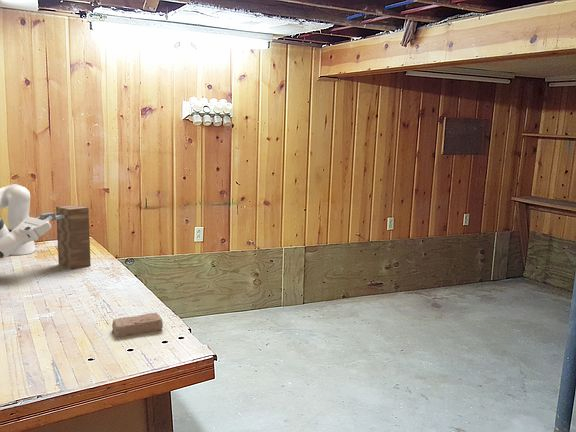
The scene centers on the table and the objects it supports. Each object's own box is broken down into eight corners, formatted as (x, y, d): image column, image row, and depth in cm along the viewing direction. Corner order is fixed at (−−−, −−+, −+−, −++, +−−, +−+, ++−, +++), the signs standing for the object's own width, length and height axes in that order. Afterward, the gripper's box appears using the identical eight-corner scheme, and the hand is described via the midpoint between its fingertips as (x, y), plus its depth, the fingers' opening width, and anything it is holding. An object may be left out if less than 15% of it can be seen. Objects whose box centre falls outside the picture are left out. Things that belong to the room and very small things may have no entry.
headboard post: (58, 264, 273) (56, 206, 268) (76, 261, 281) (74, 204, 276) (72, 269, 265) (70, 209, 260) (90, 265, 272) (88, 207, 268)
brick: (116, 338, 180) (115, 325, 179) (111, 330, 187) (111, 317, 186) (163, 331, 188) (163, 318, 187) (157, 323, 195) (157, 311, 194)
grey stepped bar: (44, 222, 255) (43, 215, 255) (40, 221, 258) (39, 214, 257) (74, 216, 267) (73, 209, 267) (70, 215, 270) (69, 209, 269)
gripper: (18, 234, 258) (41, 218, 267) (38, 240, 246) (62, 223, 254) (11, 224, 255) (34, 208, 263) (31, 230, 243) (55, 213, 251)
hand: (48, 216), depth 259 cm, fingers closed on grey stepped bar, 4 cm apart
